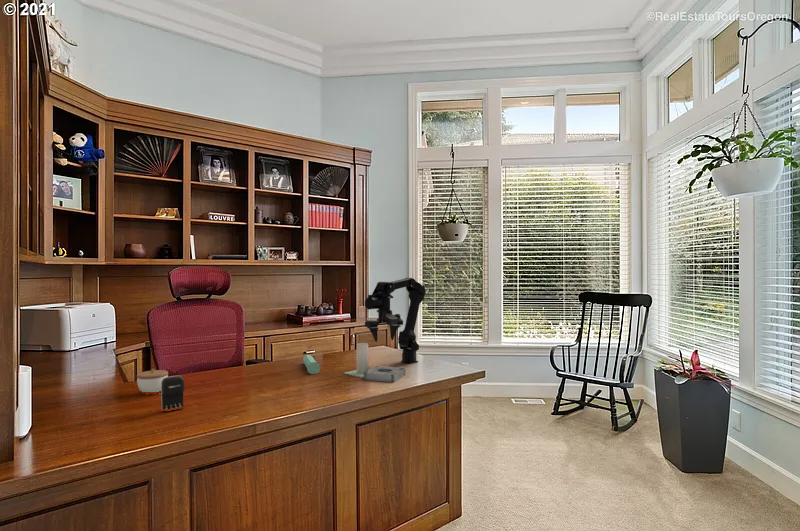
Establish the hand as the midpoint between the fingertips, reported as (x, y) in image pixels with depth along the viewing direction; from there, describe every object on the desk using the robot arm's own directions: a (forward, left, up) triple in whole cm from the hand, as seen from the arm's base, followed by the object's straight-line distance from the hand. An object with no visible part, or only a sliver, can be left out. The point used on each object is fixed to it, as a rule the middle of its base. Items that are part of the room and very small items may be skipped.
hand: (384, 340), depth 224 cm
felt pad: (+14, +3, -13) cm, 19 cm away
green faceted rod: (+28, -22, -14) cm, 38 cm away
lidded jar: (+96, -19, -13) cm, 99 cm away
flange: (+10, +15, -13) cm, 22 cm away
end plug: (+14, +3, -13) cm, 19 cm away
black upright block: (+94, +10, -13) cm, 95 cm away
